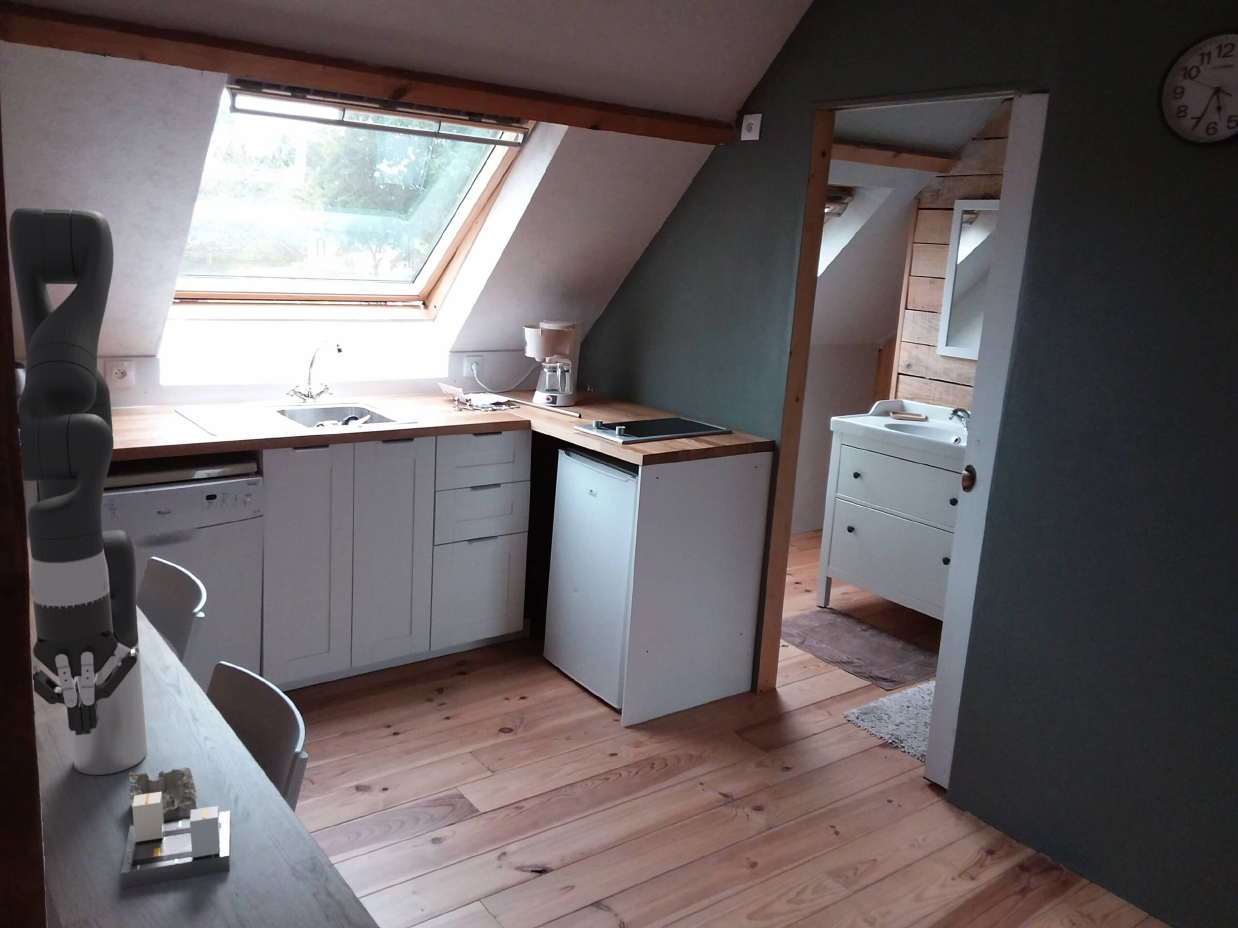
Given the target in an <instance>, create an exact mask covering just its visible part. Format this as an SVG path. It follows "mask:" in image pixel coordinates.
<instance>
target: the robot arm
mask: <svg viewBox="0 0 1238 928" xmlns="http://www.w3.org/2000/svg"><path fill="white" fill-rule="evenodd" d="M8 235H9V236H8V240H9V248H10V255H11V262H12V263H11V264H12V270H13V274H14V281H15V288H16V292H17V299H18V305H19V312H20V319H21V324H22V330H23V338H24V348H25V349H24V351H25V361H26V366H25V375H24V376H25V378H24V385H23V386H24V387H23V389H22V391H21V395H20V397H19V399H18V401H19V422H20V440H21V456H22V469H23V480H24V482H38V490H39V502H36V503H34V504H33V505H32V506H31V507H30V508H29V510H28V513H27V526H28V536H29V545H30V547H29V548H30V555H31V558H30V559H31V564H30V565H31V567H30V568H31V569H30V581H31V583H30V584H31V585H30V593H31V596H32V602H33V613H34V622H35V624H34V625H35V631H36V633H35V634H36V642H35V644H34V646H33V648H32V652H31V653H32V660H33V680H34V692H35V694H37V695H38V696H39V697H40V698H42V699H43V700H44V701H45V702H46V703H47V704H50V705H56V704H61V705H64V706H65V707H66V713H67V722H68V723H67V724H68V728H69V730H70V735H71V747H72V757H73V765H74V766H73V767H74V768H75V769H76V771H78V772H80V773H83V774H86V775H90V776H93V775H94V776H95V775H96V776H99V775H100V776H101V775H110V774H115V773H119V772H123V771H125V770H127V769H130V768H132V767H134V766H136V765H138V764H139V763H140V762H142V761H143V760H144V759H145V757H146V756H147V754H148V753H147V751H148V746H147V736H146V735H147V734H146V718H145V707H144V695H143V692H144V691H143V683H142V679H143V678H142V669H141V667H142V665H141V659H140V658H141V656H140V645H139V644H140V643H139V641H140V640H139V629H138V615H137V614H138V613H137V611H138V610H137V581H136V580H137V569H136V568H137V566H136V554H135V548H134V547H135V546H134V544H133V542H132V539H131V537H130V535H129V534H128V533H127V532H126V531H124V530H121V529H112V530H103V527H102V526H103V522H102V503H103V502H102V501H103V496H104V495H103V494H104V489H105V485H106V480H107V476H108V472H109V469H110V464H111V461H112V458H113V457H112V456H113V452H114V446H115V445H114V441H115V440H114V435H113V434H114V431H113V430H114V429H113V428H114V427H113V419H112V418H113V417H112V416H113V415H112V405H111V404H112V403H111V393H110V388H109V385H108V383H107V381H106V379H105V377H104V376H103V374H102V373H101V371H100V370H99V369H98V349H99V340H100V333H101V329H102V325H103V322H104V321H103V320H104V318H105V317H104V316H105V312H106V308H107V303H108V297H109V292H110V288H111V281H112V276H113V269H114V245H113V244H114V243H113V237H112V232H111V228H110V224H109V222H108V220H107V218H106V217H105V216H104V215H103V214H102V213H101V212H99V211H96V210H90V209H77V208H73V209H72V208H59V207H56V208H55V207H45V208H44V207H32V206H31V207H29V206H28V207H27V206H26V207H18V208H16V209H14V210H13V212H12V213H11V216H10V219H9V226H8ZM47 285H76V286H75V287H74V288H73V290H72V291H71V293H70V294H69V295H68V296H67V297H66V298H65V299H64V300H63V301H62V302H61V303H60V304H59V305H58V306H57V307H56V308H55V307H54V306H53V303H52V300H51V298H50V295H49V292H48V289H47V288H48V287H47ZM42 665H44V667H46V669H48V671H50V672H51V673H52V674H53V675H54V676H56V677H58V678H59V683H60V684H58V683H57V682H56V681H55V680H54V679H53V678H51V676H50V675H48V674H47V673H46V672H45V671H43V670H42Z"/></svg>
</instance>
